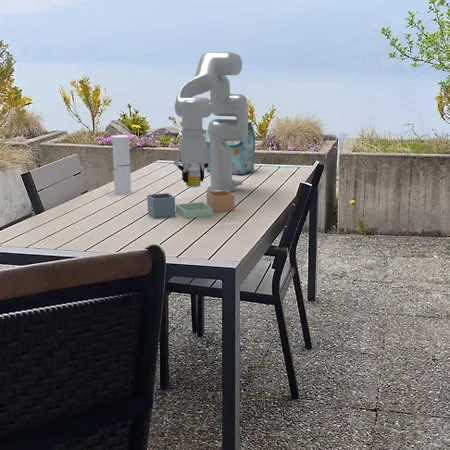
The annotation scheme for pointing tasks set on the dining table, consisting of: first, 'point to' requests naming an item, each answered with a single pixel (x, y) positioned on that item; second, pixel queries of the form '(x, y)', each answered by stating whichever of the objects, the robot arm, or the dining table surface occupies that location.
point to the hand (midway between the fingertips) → (193, 181)
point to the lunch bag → (239, 152)
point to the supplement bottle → (193, 175)
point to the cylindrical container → (121, 164)
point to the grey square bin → (161, 205)
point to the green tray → (194, 210)
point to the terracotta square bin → (221, 201)
